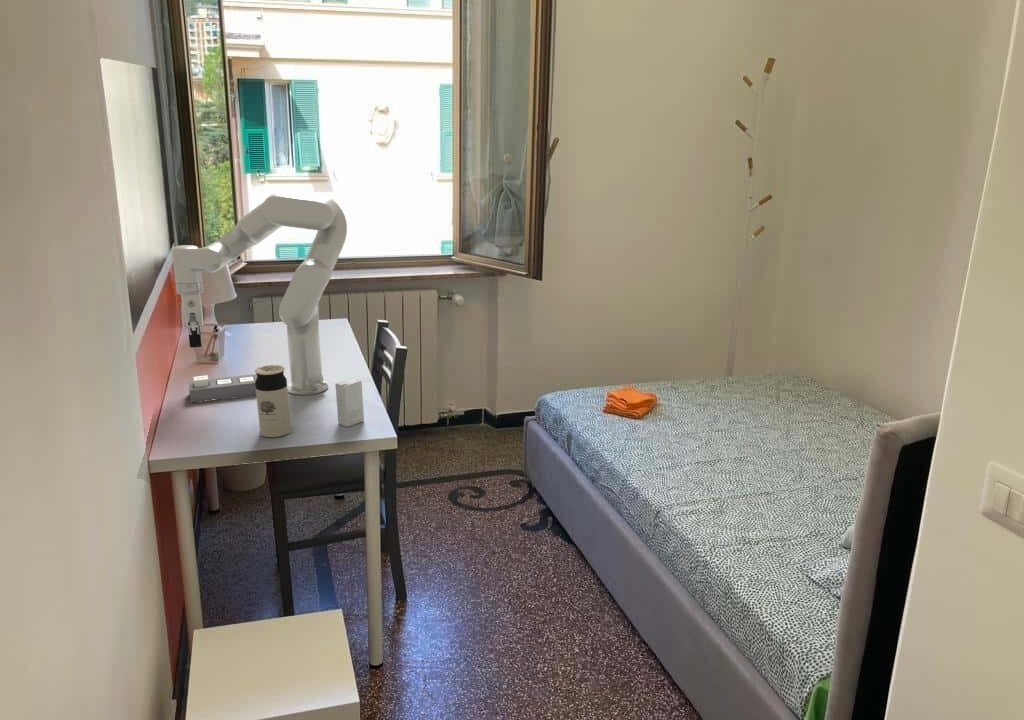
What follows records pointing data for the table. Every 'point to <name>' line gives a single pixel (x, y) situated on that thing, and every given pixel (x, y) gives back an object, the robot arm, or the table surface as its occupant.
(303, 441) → the table surface
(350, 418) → the skincare box
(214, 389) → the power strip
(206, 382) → the button
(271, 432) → the travel mug
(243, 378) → the button
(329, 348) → the table surface
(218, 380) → the middle button
